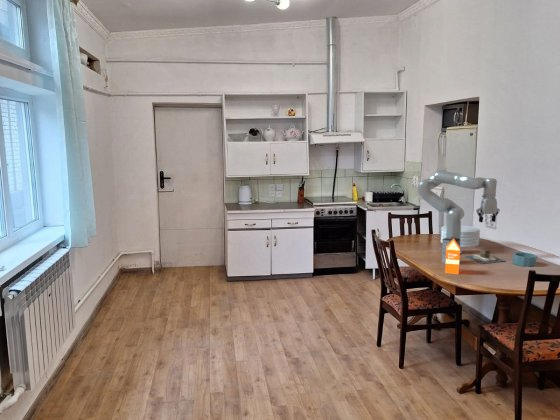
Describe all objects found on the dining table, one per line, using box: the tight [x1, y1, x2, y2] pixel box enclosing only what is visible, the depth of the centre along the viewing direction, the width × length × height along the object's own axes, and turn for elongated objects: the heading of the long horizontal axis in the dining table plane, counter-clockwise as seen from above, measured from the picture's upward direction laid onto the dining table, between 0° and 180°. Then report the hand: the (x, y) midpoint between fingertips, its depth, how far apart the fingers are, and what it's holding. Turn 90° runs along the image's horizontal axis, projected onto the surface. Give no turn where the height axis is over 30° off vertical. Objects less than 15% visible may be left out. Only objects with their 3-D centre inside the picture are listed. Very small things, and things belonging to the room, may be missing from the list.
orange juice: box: [444, 239, 461, 275], centre depth 275 cm, size 8×9×20 cm
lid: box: [472, 248, 498, 261], centre depth 303 cm, size 15×15×6 cm
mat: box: [464, 255, 507, 265], centre depth 304 cm, size 18×18×1 cm
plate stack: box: [440, 224, 481, 248], centre depth 352 cm, size 28×28×12 cm
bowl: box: [512, 251, 537, 268], centre depth 292 cm, size 13×13×6 cm
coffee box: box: [441, 237, 461, 264], centre depth 296 cm, size 9×6×16 cm
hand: (487, 221), depth 307 cm, fingers open, 9 cm apart
